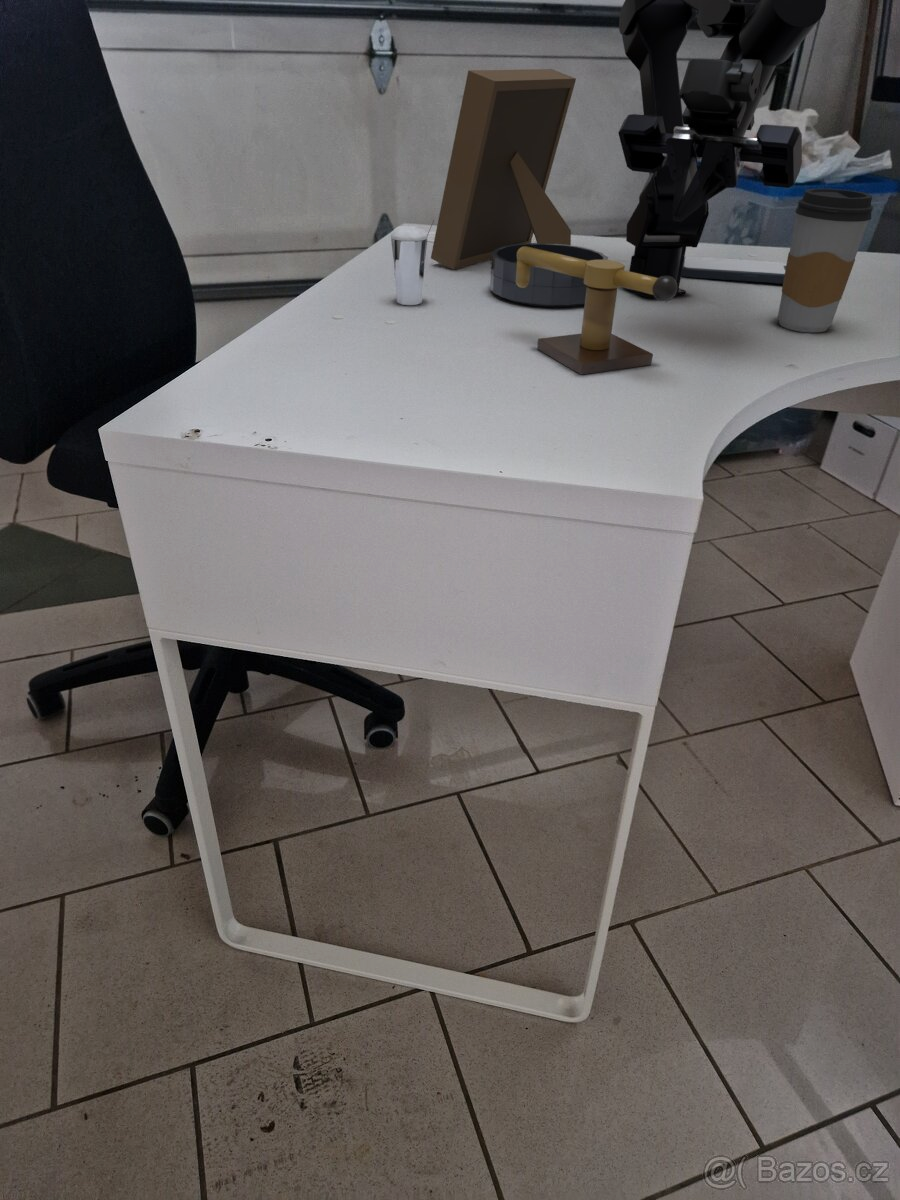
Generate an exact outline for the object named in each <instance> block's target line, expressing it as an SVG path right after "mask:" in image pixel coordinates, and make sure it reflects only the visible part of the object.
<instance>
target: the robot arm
mask: <svg viewBox="0 0 900 1200" xmlns="http://www.w3.org/2000/svg"><path fill="white" fill-rule="evenodd" d="M826 7H827V0H624V2H623V4H622V5H621V8H620V13H619V19H618V30H619V34H620V35H621V38H622V39H621V40H622V43H623V49H624V54H625V56H626V57H627V58H628V60H629V61H630V62H631V63H632V64H633V65H634V67H635V68H636V69H637V70H638V72H639V80H640V88H641V90H640V91H641V101H642V110H643V114H639V113H638V114H637V113H631V114H628V115H627V116H626V117H625V118H624V120H623V121H622V123H621V125H620V128H619V130H618V132H617V133H618V138H619V141H620V145H621V149H622V153H623V156H624V161H625V164H626V167H627V168H628V169H629V170H631V171H632V172H640V173H647V174H649V175H648V177H647V180H646V182H645V184H644V185H643V188H642V189H641V192H640V194H639V196H638V204H637V205H636V207H635V209H634V211H633V213H631V216H630V218H629V220H628V222H627V223H626V235H625V236H626V239H625V241H626V242H628V243H629V244H630V245H632V246H634V251H633V255H632V256H631V257H630V264H629V270H628V271H630V272H634V273H639V274H643V275H647V276H652V277H656V278H659V277H661V276H671V277H672V278H674V279H675V281H676V283H677V292H676V295H675V296H683V295H686V294H687V290H686V289H683V288H681V287H680V285H681V279H682V276H681V274H682V268H683V263H684V257H686V252H687V251H686V250H687V248H698V246H699V242H700V241H701V238H702V236H703V235H702V234H703V232H704V229H705V226H706V223H707V221H708V218H709V213H710V212H709V211H710V210H709V207H710V206H709V201H710V199H712V198H713V197H715V196H717V195H718V194H719V193H721V192H723V191H724V190H726V189H728V188H729V189H734V188H736V187H737V185H738V183H739V179H738V178H739V177H738V175H739V174H740V171H741V170H742V169H743V168H744V166H745V163H753V164H761V165H762V167H761V170H760V172H759V174H758V175H759V177H758V178H759V180H760V182H761V183H762V185H763V186H765V187H775V188H781V189H782V188H783V189H789V188H791V187H794V186H795V183H796V181H797V179H798V176H799V174H800V172H801V168H802V163H803V157H802V156H803V133H802V132H801V129H800V128H799V126H792V125H791V126H790V125H778V124H768V123H767V124H766V123H764V124H760V126H759V128H758V130H757V133H756V137H750V136H749V137H748V136H745V134H746V132H747V131H752V129H753V127H754V124H755V123H756V122H755V113H756V110H757V108H758V106H759V103H760V102H761V100H762V98H763V95H764V93H765V91H766V88H767V86H768V84H769V82H770V79H771V77H772V75H773V73H774V71H775V68H776V67H777V66H780V65H781V64H783V63H785V62H786V61H787V60H788V59H789V58H790V57H791V56H792V55H793V53H794V52H795V51H796V49H797V48H798V47H799V46H800V45H801V43H802V42H803V41H804V40H805V38H806V37H807V36H808V35H809V34H810V33H811V31H812V30H813V29H814V28H815V26H816V25H817V24H818V22H819V21H820V20H822V17H823V15H824V14H825V11H826ZM697 13H698V14H697ZM696 17H697V19H696V23H697V25H698V27H699V28H700V30H701V32H702V33H703V34H704V36H705V37H706V38H708V39H729V41H728V42H727V43H726V46H725V48H724V50H723V52H722V54H721V57H720V58H719V59H706V58H705V59H704V58H692V59H690V60H689V61H688V62H687V66H686V68H685V69H686V70H685V72H684V73H685V74H684V76H683V79H682V82H681V85H680V76H679V67H678V52H679V50H680V48H681V46H682V44H683V42H684V40H685V38H686V36H687V34H688V29H689V27H690V26H691V24H692V22H693V21H694V19H695V18H696ZM682 101H683V103H684V105H685V108H684V111H683V105H682V104H683V103H682ZM685 125H687V126H685ZM699 161H700V163H699ZM697 163H699V164H697ZM622 288H623V289H625V290H628V291H630V292H632V293H635V294H637V295H640V296H643V297H645V298H648V299H656V298H655V297H654V295H652V294H648V293H644V292H640V291H636V290H632V289H628V288H624V287H622ZM675 296H674V297H675Z"/></svg>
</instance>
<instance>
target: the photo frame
mask: <svg viewBox="0 0 900 1200" xmlns="http://www.w3.org/2000/svg"><path fill="white" fill-rule="evenodd" d="M465 79H466V80H465V85H464V91H463V94H462V99H461V104H460V110H459V115H458V120H457V125H456V129H455V134H454V139H453V145H452V150H451V155H450V160H449V165H448V170H447V175H446V180H445V185H444V189H443V194H442V199H441V204H440V209H439V215H438V220H437V225H436V229H435V235H434V238H433V239H434V240H433V243H432V244H433V246H432V250H431V254H430V255H431V256H430V259H431V260H433V261H436V262H437V263H439V264H441V265H443V266H445V267H447V268H449V269H451V270H453V271H454V270H458V269H462V268H465V267H469V266H471V265H475V264H478V263H481V262H485V261H489V260H492V252H493V251H494V250H495V249H497V248H499V247H502V246H507V245H512V244H524V243H532V240H533V236H534V238H535V241H536V243H550V244H564V245H571V246H572V229H571V228H570V227H569V225H568V224H567V222H566V221H565V219H564V218H563V217H562V215H561V213H560V212H559V211H558V209H557V208H556V206H555V205H554V203H553V202H552V201H551V199H550V197H549V196H548V195H547V193H546V190H547V186H548V183H549V179H550V175H551V173H552V168H553V165H554V161H555V157H556V153H557V150H558V146H559V142H560V139H561V135H562V131H563V128H564V125H565V121H566V117H567V114H568V110H569V106H570V103H571V99H572V95H573V92H574V88H575V85H576V81H577V78H576V77H573V76H571V75H568V74H566V73H563V72H560V71H558V70H555V69H553V68H541V69H540V68H537V69H536V68H531V69H530V68H529V69H475V70H474V69H473V70H472V69H471V70H470V69H468V70H467V75H466V78H465Z"/></svg>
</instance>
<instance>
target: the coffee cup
mask: <svg viewBox="0 0 900 1200" xmlns="http://www.w3.org/2000/svg"><path fill="white" fill-rule="evenodd" d="M872 200H873V195H872V194H870V193H867V192H861V191H857V190H856V191H855V190H849V189H841V188H840V189H839V188H808V189H806V190H804V193H803V196H802V199H799V200H798V203H797V207H796V208H795V211H794V212H795V213H796V214H795V219H794V225H793V231H792V237H791V242H790V248H789V252H788V254H787V260H786V263H787V265H786V270H785V276H784V281H783V284H782V287H781V297H780V298H781V299H780V302H779V308H778V313H777V319H778V324H779V325H780V326H781V327H783V328H785V329H788V330H791V331H795V332H801V333H812V334H813V333H814V334H815V333H823V332H826V331H828V329H829V327H830V326H832V324H833V321H834V319H835V316H836V313H837V310H838V308H839V304H840V302H841V301H842V298H843V295H844V292H845V289H846V287H847V284H848V282H849V278H850V276H851V272H852V270H853V268H854V265H855V262H856V257H857V255H858V252H859V249H860V245H861V243H862V240H863V237H864V234H865V231H866V229H867V226H868V223H869V221H871V220H872V212H873V210H874V206H873V205H872V202H873V201H872Z"/></svg>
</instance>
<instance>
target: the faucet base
mask: <svg viewBox="0 0 900 1200" xmlns="http://www.w3.org/2000/svg"><path fill="white" fill-rule="evenodd" d="M617 295H618V288H613V289H602V288H594V287H590V286H587V289H586V297H585V304H584V307H583V315H582V322H581V323H582V324H581V333H574V334H565V335H555V336H550V337H539V338H538V339H537V348H536V349H537V350H538V351H539V352H541V353H543V354H545V355H547V356H548V357H550V358H551V359H553V360H555V361H556V362H558V363H560V364H562V365H564V366H565V367H567V368H569V369H570V370H572V371H574V372H576V373H577V374H579V375H581V376H582V375H587V374H588V375H589V374H594V373H603V372H610V371H615V370H616V371H617V370H622V369H623V370H625V369H630V368H638V367H645V366H650V365H652V363H653V357H654V354H653V353H652V352H650V351H648V350H646V349H644V348H642V347H640V346H638V345H636V344H634V343H632V342H630V341H628V340H625V339H623V338H621V337H619V336H618V335H616V334H613V333H612V331H613V324H614V316H615V310H616V302H617Z"/></svg>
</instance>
